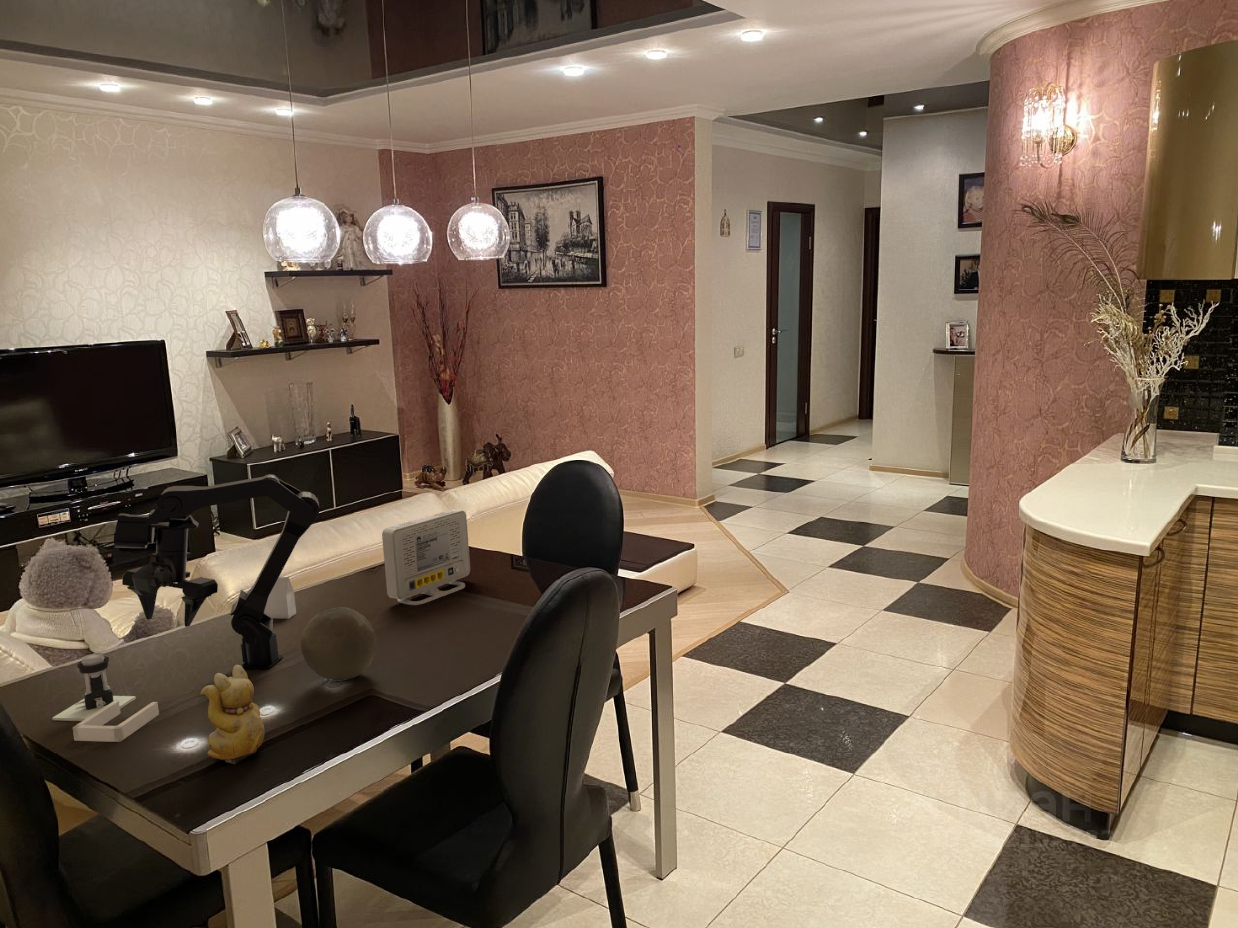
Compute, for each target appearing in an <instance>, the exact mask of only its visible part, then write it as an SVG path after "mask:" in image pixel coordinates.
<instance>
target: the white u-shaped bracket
mask: <svg viewBox="0 0 1238 928" xmlns="http://www.w3.org/2000/svg"><path fill="white" fill-rule="evenodd" d="M158 703H159V702H158V701H152V702H150V703H149V704H147V705H145V706H144V707H143V708H141V709H139V710H138V711H137V712H136V713H134V714H132V715H131V716H130V717H128V718H126V719H125V720H124V721H122V722H121V723H118V725H105V724H107V723H109V722H110V721H111V720H113V719H114V718H116V717H118V716H119V715H121V709H120V706H119V701H113V702H112V703H110V704H109V705H107V706H105V707H104V708H102V709H101V710H99V711H98V712H96V713H94V714H93V715H91V716H90V717H88V718H87V719H85V720H83V721H79V723H77V724H76V725H74V726H73V727H72V734H73V739H74V741H75V742H76V741H77V742H78V741H79V742H111V743H112V742H113V743H115V742H116V743H121V742H122V741H123V740H125V739H126V738H128V737H129V736H131V735H132V734H134V733H135V732H137V730H139V729H140V728H142V727H143V726H145V725H146V724H148V723H150V721H152V720H153V719H155V718H156V717H157V716H159V715H160V710H159V705H158Z"/></svg>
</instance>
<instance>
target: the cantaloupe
mask: <svg viewBox="0 0 1238 928" xmlns="http://www.w3.org/2000/svg"><path fill="white" fill-rule="evenodd" d="M300 649H301V653H302V656H303V658H304V661H305V662H306V665H307V666H308V667H309V668H310V669H311V670H312V671H314V672H315V673H316V674H317V675H319V676H320V677H322V678H324V679H328V680H332V681H334V682H341V681H346V680H351V679H353V678H356V677H358V676H359V675H361V674H362V673H364V672H365V670H366V669H368V668H369V667H370V665H371V664H372V662H373V660H374V658H375V655H376V651H377V637H376V634H375V630H374V627H373V626H372V624H371V623H370V621H369V620H368V619H367V617H365V616H364V615H363V614H361V613H360V612H358V611H357V610H355V609H354V608H350V607H346V606H345V607H344V606H337V607H333V608H328V609H325V610H322V611H320V612H318V613H317V614H314V616H313V617H312V618H310V620H309V621H308V623H307V625H306V627H305V628H304V629H303V631H302V634H301V639H300Z"/></svg>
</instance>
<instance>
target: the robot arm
mask: <svg viewBox="0 0 1238 928" xmlns="http://www.w3.org/2000/svg"><path fill="white" fill-rule="evenodd" d="M261 497H267V498H270V499H271V500H272V501H274V502H275V503H277V505H279V506H281V508H283V509H284V510H286V511H287V514H286V517H285V521H284V525H283V527H282V530H281V532H280V534H279V536H278V538H277V539H276V542H275V544H274V546H273V547H272V548H271V551H270V553H269V555H268V557H267V559H266V561H265V562H264V564H263V565H262V568H261V570H260V572H259V574H258V575H257V577H256V579H255V581H254V583H253V585H252V586H251V588H250V589H248V591H247V592H246V591H244V590H242V589H241V590H240V591H239V594H238V597H237V600H236V601H235V602H234V603H233V604H232V605H231V608H230V616H231V621H230V625H231V627H232V629H233V631H234V632H235V633H237V634H239V635H240V636H241V644H240V651H241V661H242V664H241V665H240V666H242V668H243V669H254V670H255V669H256V670H257V669H259V670H260V669H261V670H263V669H264V670H267V669H270V668H271V667H273V666H274V665H275V664H277V663H278V662H279V661H280V660H282V659H283V658H284V657H283V655H282V654H281V655H280V654H279V646H278V645H279V644H278V638H277V637H278V636H277V633H276V632H273V627H274V626H273V625H274V624H273V623H274V618H271V617H269V616H268V615H266V614H265V613H264V611H265V607H266V604H267V600H268V597H269V595H270V593H271V591H272V589H273V587H274V585H275V583H276V581H277V580H278V578H279V577H281V574H282V573H283V570H284V568H285V566H286V564H287V562H288V560H289V559H290V556H291V555H292V553H293V551H294V549H295V547H296V545H297V543H298V542H299V540H300V539H301V537H302V536H303V535H304V534H305V533H306V532H307V531H308V530H309V529H310V527H311V526H312V525H313V524H314V523H315V521H316V520H317V518H318V517H319V515H320V502H319V499H318V497H316V495H315V494H314V493H312V492H309V491H301V490H299V489H297V487H294V486H293V485H291V484H289V483H287V482H284V481H283V480H282V479H280V478H279V477H277V476H276V475H275V474H265V475H264V476H260V477H253V478H248V479H243V480H237V481H230V482H226V483H219V484H213V485H208V486H195V485H172V486H169V487H167V488H165V489H164V490H163V492H162V493H161V494H160V495H159V497H158V498H157V500H156V507H155V508H154V509H152V510H150V512H149V513H148V515H147V514H146V515H145V514H144V515H143V514H129V513H119V514H118V515H117V521H116V525H115V531H114V532H113V546H114V548H119V549H120V548H121V549H122V548H123V549H125V548H126V549H128V548H129V549H147V548H148V546H149V544H154V540H155V530H156V546H155V549H156V550H155V552H154V553H152V554H151V555H150V558H149V563H148V564H147V565H143V566H140V567H135V568H131V569H128V570H125V572H124V573H123V574H122V581H121V585H122V586H126V587H127V589H128V590H130V591H132V592H133V593H135V594H136V596H137V598H138V599H139V601H140V605H141V607H142V610H143V614H144V615H145V619H146V620H148V621H149V620H152V619H153V615H154V612H155V608H156V601H157V596H158V595H157V594H158V591H159V589H160V588H161V587H163V588H166V587H169V588H174V589H175V588H176V589H181V590H182V594H183V596H181V597H180V599H182V600H181V601H183V602H184V627H185V628H188V627H190V626H191V625H192V623H193V621H194V619H195V617H196V615H197V613H198V611H199V610H200V608H201V606H202V605H203V604H204V602H205V601H206V599H207V598H209V597H212V596H213V594H216V593H218V586H219V585H218V581H216V580H215V579H213V578H207V577H203V576H199V577H196V578H193V579H188V578H190V577H191V572H190V571H187V562H188V560H187V559H191V558H192V553H191V552H188V538H189V530H196V529H197V528H198V527H199V522H198V521H197V520H195V519H194V518H193V516H192V515H191V514H193V513H196V512H197V511H198V512H199V511H200V510H202V509H206V508H207V507H211V506H216V505H222V504H228V503H234V502H238V501H244V500H245V501H246V500H250V499H256V498H261ZM184 516H187V517H186V518H182V517H184ZM167 519H168V520H169V521H168V522H167V521H166V522H165V520H167ZM163 521H164V522H163Z"/></svg>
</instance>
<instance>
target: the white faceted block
mask: <svg viewBox="0 0 1238 928" xmlns="http://www.w3.org/2000/svg"><path fill="white" fill-rule="evenodd" d="M264 613H265V614H266V615H268V616H269V617H271V618H272V619H291V618H292V617H293V616H294V615H296V614H297V607H296V598H295V590H294V588H293V586H292V583H291V581H290V577H289V576H279V578H278V580H277V581H276V583H275V585H274V587H273V589H272V591H271V593H270V595H269V597H268V600H267V604H266V607H265V611H264Z"/></svg>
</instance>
